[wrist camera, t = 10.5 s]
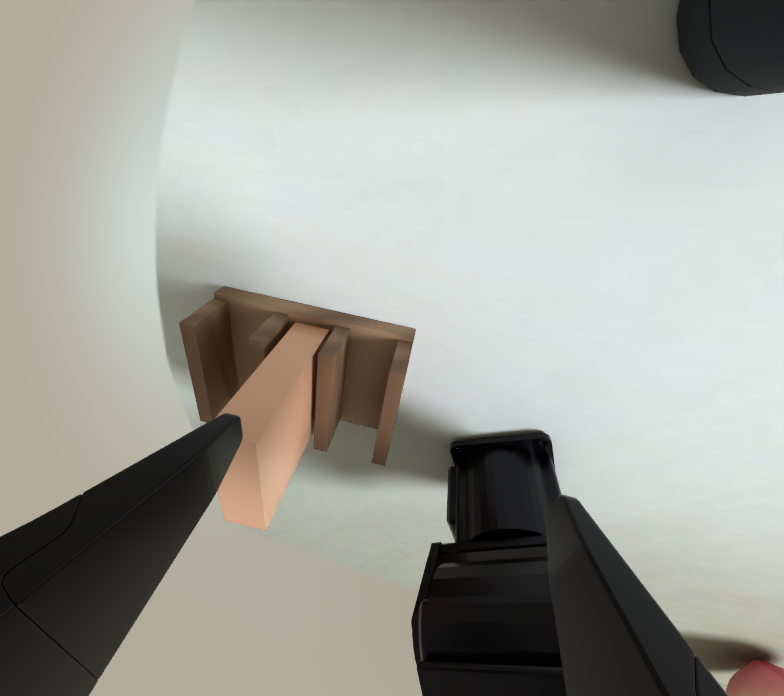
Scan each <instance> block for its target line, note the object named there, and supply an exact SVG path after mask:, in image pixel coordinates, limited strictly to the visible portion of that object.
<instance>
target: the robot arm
mask: <svg viewBox="0 0 784 696" xmlns="http://www.w3.org/2000/svg"><path fill="white" fill-rule="evenodd" d="M242 438H243V432H242V424H241V418H240V417H239V416H238V415H234V414H229V413H225V414H222V415H220V416H218V417H217V418H215V419H213V420H211V421H210V422H208V423H206V424H204V425H202V426H201V427H199V428H197V429H195V430H194V431H192V432H190V433H188V434H187V435H185V436H183V437H182V438H180V439H178V440H176V441H174V442H172V443H171V444H169V445H167V446H165V447H164V448H162V449H160V450H158V451H156V452H155V453H153V454H151V455H149V456H148V457H146V458H144V459H142V460H140V461H139V462H137V463H135V464H133V465H131V466H130V467H128V468H126V469H124V470H123V471H121V472H119V473H117V474H115V475H114V476H112V477H110V478H108V479H107V480H105V481H103V482H101V483H100V484H98V485H96V486H94V487H92V488H91V489H89V490H87V491H85V492H84V493H83V495H78V496H76V497H75V498H73V499H71V500H69V501H67V502H66V503H64V504H62V505H60V506H58V507H57V508H55V509H53V510H51V511H49V512H47V513H46V514H44V515H42V516H40V517H39V518H36V519H34V520H33V521H31V522H29V523H27V524H25V525H23V526H21V527H19V528H17V529H15V530H13V531H11V532H9V533H7V534H5V535H3V536H1V537H0V696H89V694H90V693H91V691H92V690H93V688H94V686H95V685H96V683H97V681H98V679H99V678H100V676H101V675H102V673H103V672H104V670H105V668H106V667H107V665H108V664H109V662H110V660H111V659H112V657H113V656H114V654H115V653H116V651H117V649H118V648H119V646H120V645H121V643H122V642H123V640H124V639H125V637H126V635H127V634H128V632H129V630H130V629H131V627H132V626H133V624H134V622H135V621H136V620H137V618H138V616H139V615H140V613H141V612H142V610H143V608H144V607H145V605H146V604H147V602H148V600H149V599H150V597H151V596H152V594H153V593H154V591H155V589H156V588H157V586H158V585H159V583H160V582H161V580H162V578H163V577H164V575H165V573H166V572H167V570H168V569H169V567H170V565H171V564H172V563H173V561H174V559H175V558H176V556H177V555H178V553H179V551H180V550H181V548H182V547H183V545H184V543H185V542H186V540H187V539H188V537H189V535H190V534H191V533H192V531H193V529H194V528H195V526H196V525H197V523H198V521H199V520H200V518H201V517H202V515H203V513H204V512H205V510H206V509H207V507H208V506H209V504H210V502H211V501H212V499H213V498H214V496H215V494H216V492H217V491H218V489H219V487H220V485H221V483H222V481H223V479H224V477H225V475H226V473H227V471H228V469H229V467H230V465H231V463H232V461H233V459H234V457H235V454H236V452H237V450H238V448H239V446H240V444H241V442H242ZM541 441H543V442H541ZM456 448H459V449H456ZM450 452H451V455H452V458H453V461H454V464H455V466H453V467H450V469H449V471H448V498H447V522H448V525H449V527H450V530H451V532H452V535H453V537H454V540H455V543H446V544H442V543H441V542H438V543H432V544H431V548H430V552H429V556H428V559H427V562H426V566H425V570H424V574H423V578H422V582H421V585H420V589H419V593H418V597H417V601H416V604H415V608H414V612H413V616H412V621H411V623H412V630H413V631H412V637H413V647H414V654H415V660H416V664H417V671H418V676H419V681H420V685H421V690H422V695H423V696H728V695H727V693H726V692H725V691H724V690H723V688H722V687H721V686H720V684H719V683H718V682H717V681H716V679H715V678H714V677H713V675H712V674H711V673H710V672H709V670H708V669H707V668H706V666H705V665H704V664H703V662H702V661H701V660H700V658H699V657H697V656H695V652H694V651H693V650H692V648H691V647H690V646H689V644H688V643H687V642H686V640H685V639H684V638H683V636H682V635H681V634H680V633H679V631H678V630H677V629H676V627H675V626H674V625H673V623H672V622H671V621H670V619H669V618H668V617H667V616H666V614H665V613H664V612H663V610H662V609H661V608H660V606H659V605H658V604H657V602H656V601H655V600H654V599H653V597H652V596H651V595H650V593H649V592H648V591H647V589H646V588H645V587H644V585H643V584H642V583H641V582H640V580H639V579H638V578H637V576H636V575H635V574H634V572H633V571H632V570H631V568H630V567H629V566H628V565H627V563H626V562H625V561H624V559H623V558H622V557H621V555H620V554H619V553H618V551H617V550H616V549H615V548H614V546H613V545H612V544H611V542H610V541H609V540H608V538H607V537H606V536H605V534H604V533H603V532H602V531H601V529H600V528H599V527H598V525H597V524H596V523H595V521H594V520H593V519H592V517H591V516H590V515H589V514H588V512H587V511H586V510H585V508H584V507H583V506H582V504H581V503H580V502H579V501H578V500H577V499H576V498H574V497H570V496H566V495H561V491H560V487H559V484H558V480H557V476H556V473H555V465H554V457H553V449H552V442H551V439H550V436H549V435H548V434H545V433H539V434H528V435H518V436H507V437H496V438H486V439H475V440H464V441H455V442H453V443H451V445H450Z"/></svg>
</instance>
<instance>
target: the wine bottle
mask: <svg viewBox="0 0 784 696" xmlns="http://www.w3.org/2000/svg"><path fill="white" fill-rule="evenodd" d="M677 26H678V36H679V46H680V52H681V54H682V56H683V58H684V60H685V62H686V63H687V65H688V67H689V69H690V71H691V73H692V75H693V76H694V77H695V78H696V79H698V80H699V81H701V82H702V83H704V84H705V85H707V86H708V87H709V88H711V89H712V90H714V91H715V92H721V93H728V94H734V95H740V96H752V95H762V94H772V93H782V92H784V0H680V2H679V8H678V13H677Z"/></svg>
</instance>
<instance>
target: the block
mask: <svg viewBox="0 0 784 696" xmlns="http://www.w3.org/2000/svg"><path fill="white" fill-rule="evenodd" d="M328 338H329V329H324V328H319V327H315V326H310V325H306V324H301V323H296V322H295V324H294V325H293V326H292V327H291V328H290V330H289V331H288V332H287V333H286V334H285V336H284V337H283V338H282V339H281V340H280V342H279V343H278V344H277V345H276V346H275V347H274V349H273V350H272V351H271V352H270V353H269V355H268V356H267V357H266V358H265V359H264V361H263V362H262V363H261V364H260V365H259V367H258V368H257V369H256V370H255V371H254V373H253V374H252V375H251V376H250V377H249V379H248V380H247V381H246V382H245V383H244V385H243V386H242V387H241V388H240V389H239V391H238V392H237V393H236V394H235V395H234V396H233V398H232V399H231V400H230V401H229V402H228V404H227V405H226V406H225V407H224V408H223V410H222V411H221V412H220V413H219V414H218V416H220V415H222V414H225V413H229V414H234V415H238V416H239V417H240V418H241V424H242V432H243V438H242V442H241V444H240V446H239V448H238V450H237V452H236V454H235V457H234V459H233V461H232V463H231V465H230V467H229V469H228V471H227V473H226V475H225V477H224V479H223V481H222V483H221V485H220V487H219V489H218V494H219V499H220V502H221V507H222V511H223V516H224V520H226V521H230V522H234V523H238V524H241V525H245V526H249V527H253V528H257V529H261V530H265V531H266V529H267V527H268V525H269V523H270V521H271V518H272V516H273V514H274V512H275V510H276V508H277V506H278V504H279V502H280V500H281V498H282V496H283V494H284V491H285V489H286V487H287V485H288V483H289V481H290V479H291V477H292V475H293V473H294V471H295V469H296V467H297V464H298V462H299V460H300V458H301V456H302V454H303V452H304V450H305V448H306V446H307V444H308V442H309V440H310V437H311V435H312V433H313V431H314V429H315V408H316V386H317V364H318V354H319V352H320V351H321V349H322V348H323V346H324V344H325V343H326V341H327V340H328ZM218 416H217V417H218ZM217 417H216V418H217Z"/></svg>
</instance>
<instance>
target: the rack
mask: <svg viewBox="0 0 784 696" xmlns="http://www.w3.org/2000/svg"><path fill="white" fill-rule="evenodd" d="M214 297H215V298H214V299H213V300H211V301H210V302H208V303H207V304H206V305H204V306H203V307H201V308H200V309H198V310H197V311H196V312H194V313H193V314H191V315H190V316H189V317H187V318H186V319H184V320H183V321H181V322H180V323H179V324H180V329H181V333H182V338H183V342H184V347H185V352H186V356H187V361H188V365H189V370H190V375H191V379H192V384H193V388H194V393H195V398H196V402H197V407H198V411H199V416H200V420H201V421H203V422H207V423H208V422H210V421H211V420H213V419H215V418H216V417H217V416H218V414H219V413H220V412H221V411H222V410H223V408H224V407H225V406H226V405H227V404H228V402H229V401H230V400H231V399H232V398H233V396H234V395H235V394H236V393H237V392H238V391H239V389H240V388H241V387H242V386H243V385H244V383H245V382H246V381H247V380H248V379H249V377H250V376H251V375H252V374H253V373H254V371H255V370H256V369H257V368H258V367H259V365H260V364H261V363H262V362H263V361H264V359H265V358H266V357H267V356H268V355H269V353H270V352H271V351H272V350H273V349H274V347H275V346H276V345H277V344H278V343H279V342H280V340H281V339H282V338H283V337H284V336H285V334H286V333H287V332H288V331H289V330H290V328H291V327H292V326H293V325H294V324H295V322H296V323H301V324H306V325H310V326H315V327H319V328H324V329H329V338H328V340H327V341H326V343H325V344H324V346H323V348H322V349H321V351H320V352H319V354H318V364H317V386H316V408H315V431H314V449H317V450H321V451H326V452H327V449H328V447H329V444H330V442H331V440H332V437H333V435H334V432H335V430H336V427H337V425H338V423H339V420H343V421H347V422H351V423H355V424H360V425H364V426H368V427H372V428H376V429H378V433H377V439H376V444H375V449H374V454H373V459H372V463H375V464H379V465H383V466H385V463H386V459H387V454H388V450H389V446H390V441H391V437H392V433H393V428H394V424H395V420H396V415H397V411H398V406H399V402H400V398H401V393H402V389H403V385H404V380H405V376H406V371H407V367H408V362H409V358H410V353H411V349H412V344H413V340H414V335H415V331H416V329H412V328H408V327H403V326H399V325H394V324H390V323H385V322H381V321H376V320H372V319H367V318H363V317H358V316H354V315H349V314H345V313H340V312H336V311H331V310H327V309H322V308H318V307H313V306H309V305H304V304H300V303H295V302H291V301H286V300H282V299H278V298H273V297H269V296H264V295H260V294H255V293H251V292H246V291H242V290H237V289H233V288H228V287H223V288H221V289H220V290H218V291H217V292H215V293H214Z"/></svg>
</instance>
